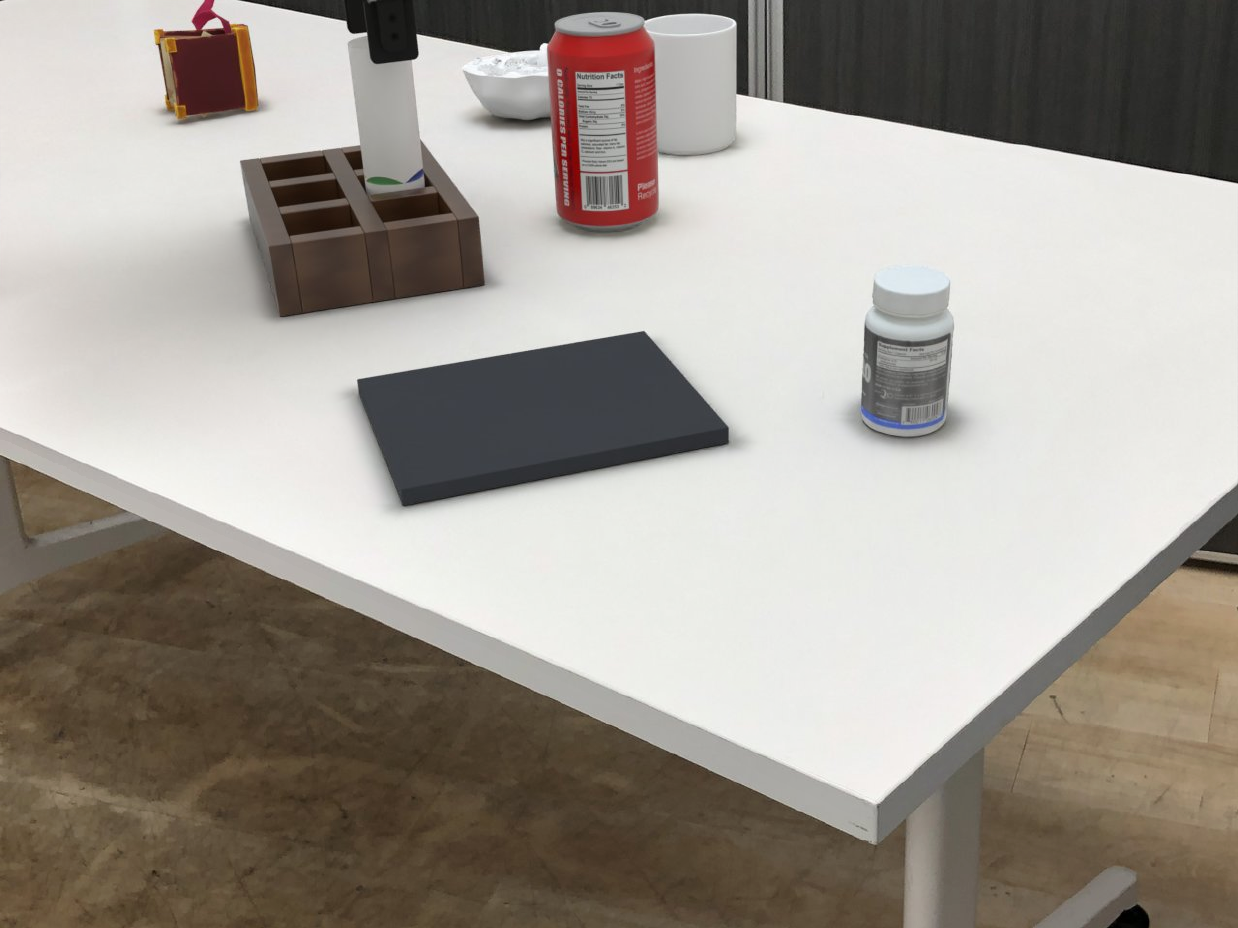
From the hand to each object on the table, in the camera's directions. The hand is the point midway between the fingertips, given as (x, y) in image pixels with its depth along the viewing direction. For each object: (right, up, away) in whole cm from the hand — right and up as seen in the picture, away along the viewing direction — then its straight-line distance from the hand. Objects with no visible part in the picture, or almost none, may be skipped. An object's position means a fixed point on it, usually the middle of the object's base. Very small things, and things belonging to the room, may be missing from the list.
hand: (382, 45), depth 100 cm
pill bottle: (+32, -27, -20) cm, 47 cm away
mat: (+12, -27, -18) cm, 34 cm away
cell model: (+8, +4, +37) cm, 38 cm away
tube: (0, -13, +7) cm, 15 cm away
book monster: (-24, +7, +45) cm, 51 cm away
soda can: (+16, -11, +10) cm, 22 cm away
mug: (+21, -1, +26) cm, 34 cm away
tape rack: (-3, -14, +6) cm, 15 cm away
